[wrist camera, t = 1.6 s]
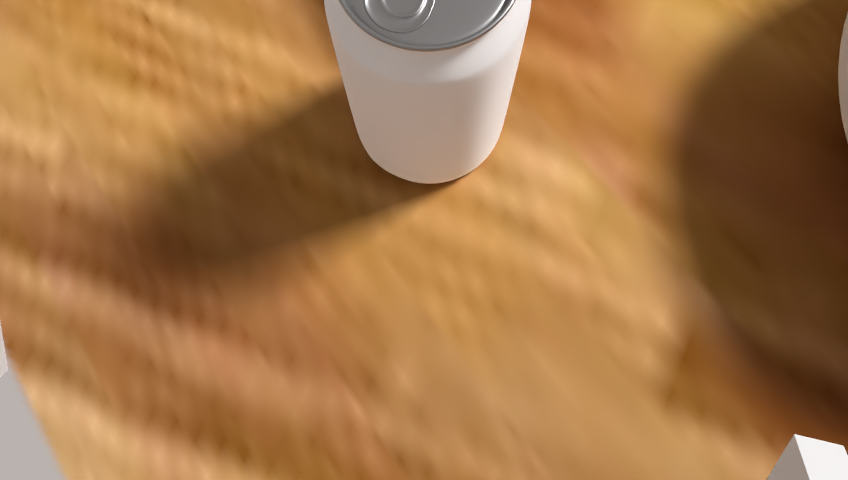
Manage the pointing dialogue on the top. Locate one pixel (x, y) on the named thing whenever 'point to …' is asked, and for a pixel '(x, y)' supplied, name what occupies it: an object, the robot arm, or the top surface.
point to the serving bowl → (844, 77)
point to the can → (428, 79)
